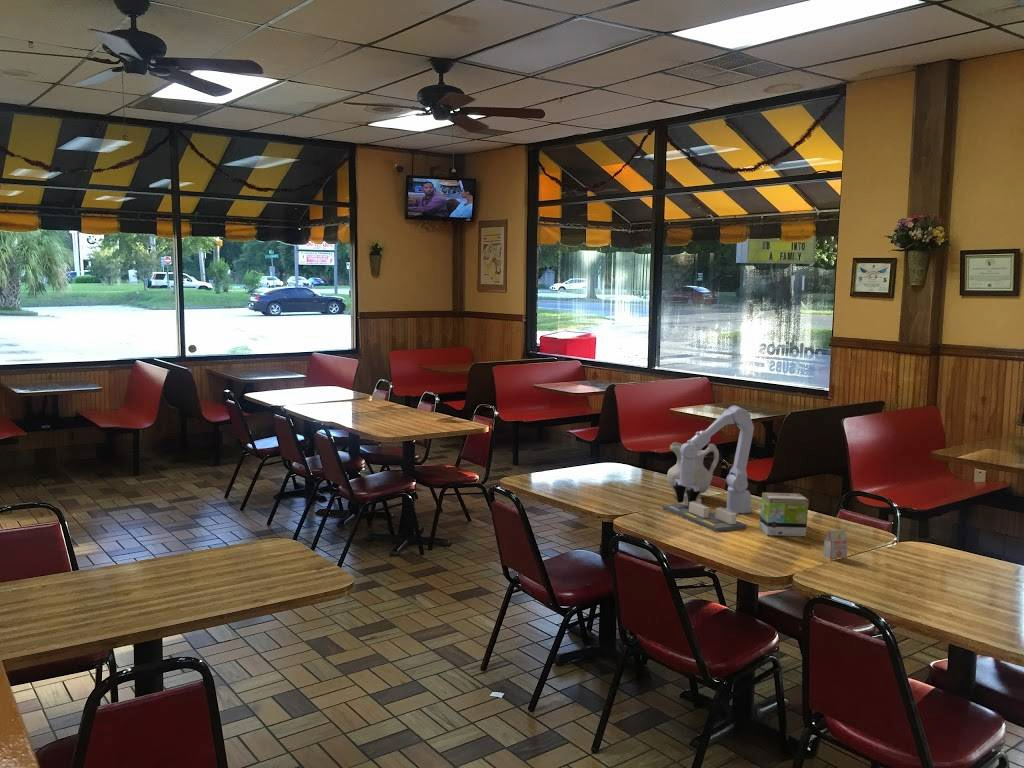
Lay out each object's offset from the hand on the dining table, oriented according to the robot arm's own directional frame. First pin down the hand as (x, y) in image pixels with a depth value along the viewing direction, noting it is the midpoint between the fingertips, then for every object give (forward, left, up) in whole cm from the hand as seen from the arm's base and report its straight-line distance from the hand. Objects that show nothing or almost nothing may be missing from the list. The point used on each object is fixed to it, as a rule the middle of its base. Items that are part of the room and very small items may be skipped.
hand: (685, 504), depth 357 cm
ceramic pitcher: (-17, -20, -3) cm, 27 cm away
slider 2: (+2, +12, -1) cm, 12 cm away
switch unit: (0, +11, -3) cm, 12 cm away
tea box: (-17, +39, -3) cm, 43 cm away
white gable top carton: (-13, +70, -3) cm, 71 cm away
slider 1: (-3, 0, -1) cm, 3 cm away
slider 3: (-3, +23, -1) cm, 23 cm away
